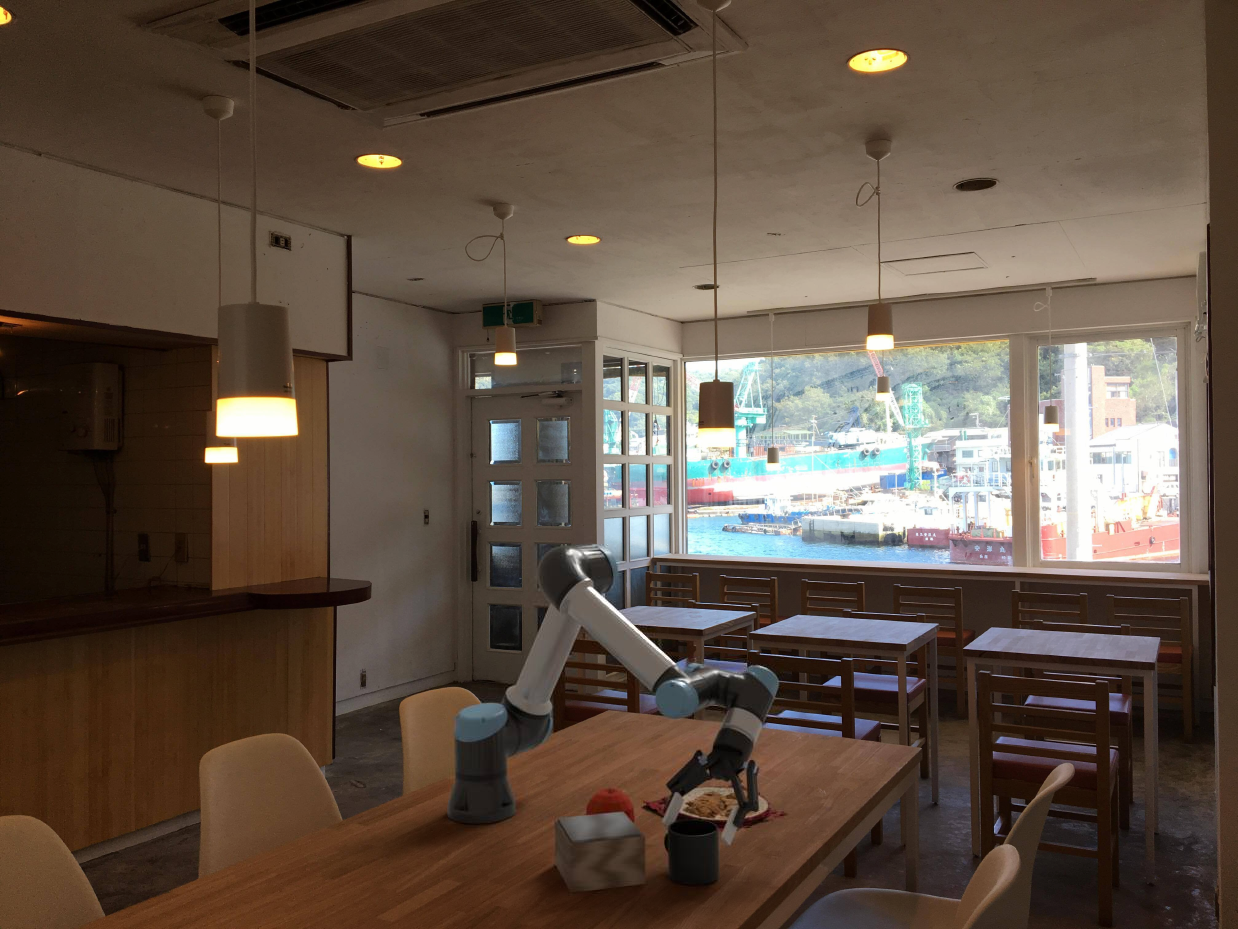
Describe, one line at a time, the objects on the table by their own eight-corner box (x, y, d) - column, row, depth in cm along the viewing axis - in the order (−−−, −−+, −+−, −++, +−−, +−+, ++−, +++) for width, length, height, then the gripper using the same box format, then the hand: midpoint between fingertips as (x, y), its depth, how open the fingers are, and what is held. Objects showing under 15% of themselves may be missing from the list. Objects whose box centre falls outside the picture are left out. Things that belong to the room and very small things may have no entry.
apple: (579, 839, 205) (578, 783, 205) (624, 832, 209) (623, 777, 209) (595, 855, 196) (594, 796, 196) (642, 848, 199) (641, 790, 199)
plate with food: (641, 809, 226) (641, 793, 226) (736, 788, 239) (736, 773, 239) (701, 843, 205) (700, 826, 205) (802, 818, 217) (801, 802, 217)
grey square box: (570, 892, 177) (570, 842, 178) (555, 864, 191) (554, 817, 191) (645, 883, 181) (644, 834, 181) (625, 857, 195) (624, 810, 195)
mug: (681, 859, 193) (680, 812, 193) (729, 876, 184) (728, 826, 185) (648, 873, 186) (647, 824, 186) (696, 890, 178) (695, 839, 178)
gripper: (799, 757, 192) (759, 858, 180) (694, 738, 208) (651, 830, 196) (784, 735, 188) (743, 837, 176) (678, 717, 204) (634, 810, 192)
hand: (694, 833), depth 186 cm, fingers open, 13 cm apart
